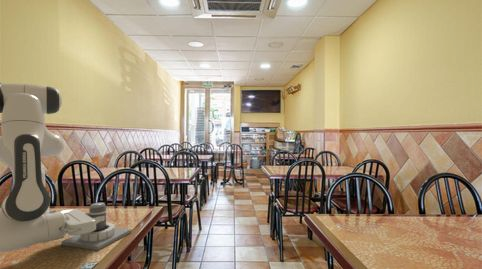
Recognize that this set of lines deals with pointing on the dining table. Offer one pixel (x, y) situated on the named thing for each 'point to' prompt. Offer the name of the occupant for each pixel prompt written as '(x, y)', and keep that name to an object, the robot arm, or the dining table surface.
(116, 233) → the mount
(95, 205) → the lens
